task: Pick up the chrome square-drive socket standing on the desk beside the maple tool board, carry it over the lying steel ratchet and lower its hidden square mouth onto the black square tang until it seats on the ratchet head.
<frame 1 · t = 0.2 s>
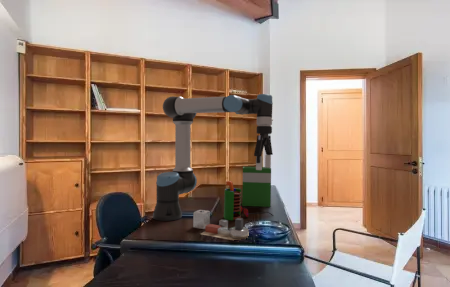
hand: (263, 168, 146), 28 cm above the table, fingers open, 13 cm apart
motor: (232, 219, 154), on the table
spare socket: (223, 229, 134), point 1 cm above the table, touching tool board
ratchet: (239, 236, 125), resting on tool board
hardback book: (256, 205, 189), on the table
tool board: (231, 236, 128), on the table
socket: (201, 228, 138), on the table
glasses: (254, 214, 167), on the table
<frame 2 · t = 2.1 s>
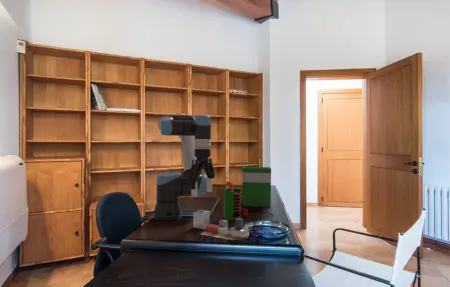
hand: (202, 194, 138), 16 cm above the table, fingers open, 13 cm apart
nothing on the table moved.
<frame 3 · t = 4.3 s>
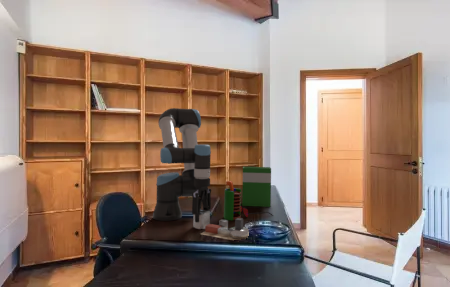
hand: (201, 226, 138), 1 cm above the table, fingers closed on socket, 6 cm apart
socket: (201, 228, 138), on the table, touching gripper
everything else where it was.
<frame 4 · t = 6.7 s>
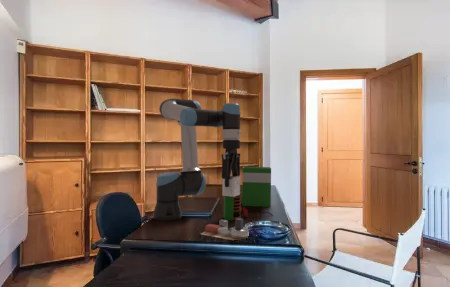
hand: (231, 193, 127), 19 cm above the table, fingers closed on socket, 6 cm apart
socket: (231, 195, 127), point 18 cm above the table, touching gripper
everything else where it was.
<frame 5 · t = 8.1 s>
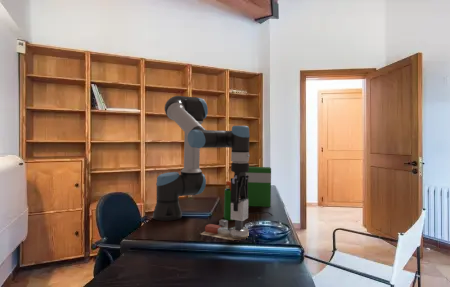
hand: (239, 216, 125), 9 cm above the table, fingers closed on socket, 6 cm apart
socket: (239, 218, 125), point 9 cm above the table, touching gripper
everything else where it was.
when the fingers open (7 cm above the table, at t = 9.2 s): socket drops 2 cm, resting on ratchet.
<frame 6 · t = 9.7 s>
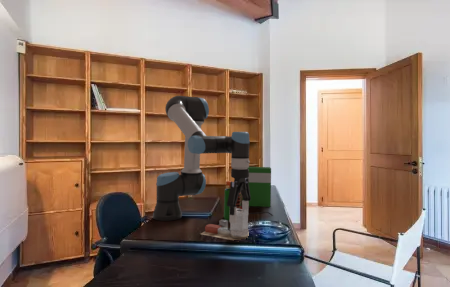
hand: (239, 218, 125), 8 cm above the table, fingers open, 12 cm apart
socket: (239, 229, 125), point 4 cm above the table, touching ratchet
everything else where it was.
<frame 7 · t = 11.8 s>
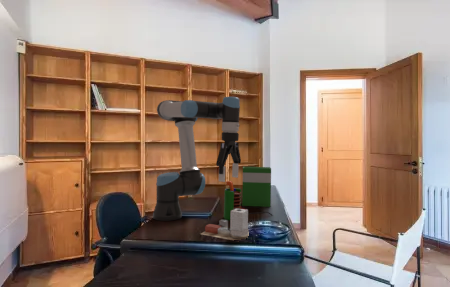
hand: (228, 179, 132), 24 cm above the table, fingers open, 13 cm apart
nothing on the table moved.
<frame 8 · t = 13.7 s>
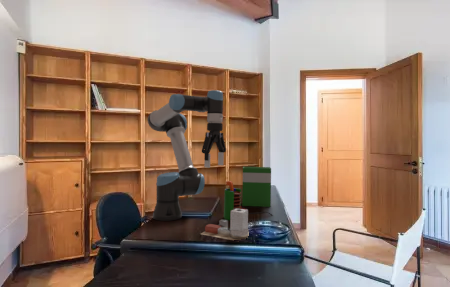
hand: (214, 166, 144), 29 cm above the table, fingers open, 13 cm apart
nothing on the table moved.
at the end: socket 0.0 cm off-centre on the ratchet, point 3.0 cm above the ratchet's base; socket tilted 0°; the gripper is holding nothing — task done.
